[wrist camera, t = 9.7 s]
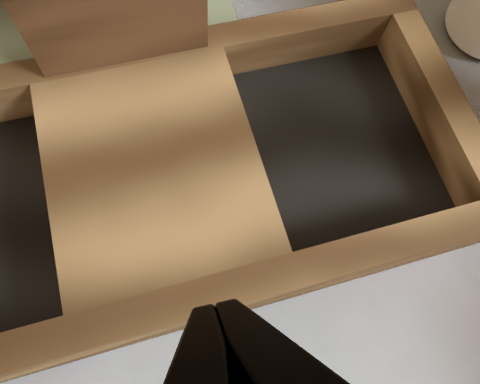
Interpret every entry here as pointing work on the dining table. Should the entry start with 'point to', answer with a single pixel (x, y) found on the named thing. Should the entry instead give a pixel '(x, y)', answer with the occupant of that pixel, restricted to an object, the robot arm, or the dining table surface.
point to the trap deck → (224, 174)
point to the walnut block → (106, 30)
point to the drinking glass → (464, 25)
